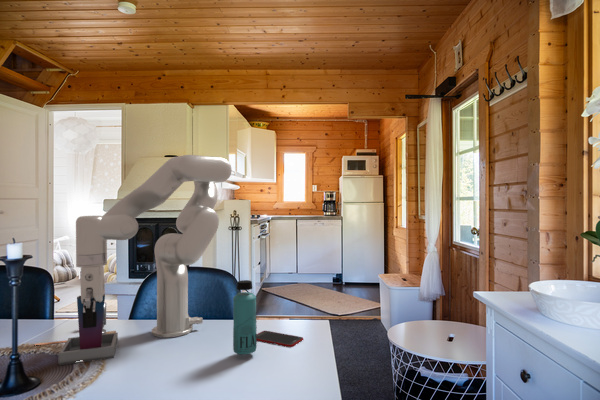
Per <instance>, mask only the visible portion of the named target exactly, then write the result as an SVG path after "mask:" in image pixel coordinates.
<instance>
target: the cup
mask: <svg viewBox="0 0 600 400" xmlns="http://www.w3.org/2000/svg"><path fill="white" fill-rule="evenodd" d="M92 294H93V293H92ZM91 300H94V298H92V299H91ZM105 300H106V293H105V294H104V296H103V300H102V302H100V303H99V301H97V302H96V309H95V311H97V326H96V327H91V328H83V307H84V304H82V303H81V295H78V296H76V303H77V304H76V305H77V306H76V307H77V321H78V322H77V323H78V335H79V336H78V337H79V340H80V350H82V349H90V348H98V347H101V342H102V329H104V327H103V316H104V302H105ZM83 302H84V299H83ZM105 303H106V302H105ZM92 305H93V304H92Z"/></svg>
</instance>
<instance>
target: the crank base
mask: <svg viewBox="0 0 600 400" xmlns="http://www.w3.org/2000/svg"><path fill="white" fill-rule="evenodd" d="M109 333H117V331H116V330H111V331H110V330H109V331H106V334H109ZM67 340H68V339H67ZM67 340H65V339H64V340H59V341H48V342H40V343H35V344H34V345H35V346H34V347H37V346H36V345H41V346H46V345H48V346H49V345H57V344H65V343H66V341H67Z"/></svg>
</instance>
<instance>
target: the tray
mask: <svg viewBox="0 0 600 400" xmlns="http://www.w3.org/2000/svg"><path fill="white" fill-rule="evenodd" d="M118 333H119V332H116V333H109V334H102V342H101V347H98V348H90V349H82V350H80V340H79V336H75V337H68V339H67V341H66V343H63V346H62V348H61V349H60V350H59V352H58V366H63V365H70V364H71V365H72V364H76V363H75V362H76V361H80V360H83V361H85V362H84V363H86V362H93V361H92V360H95V361H101V360H100V359H102V360H107V359H109V360H110V359H114V357H115V355H116V350H117V347H118V343H119V340H118V339H119V338H118Z"/></svg>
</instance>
